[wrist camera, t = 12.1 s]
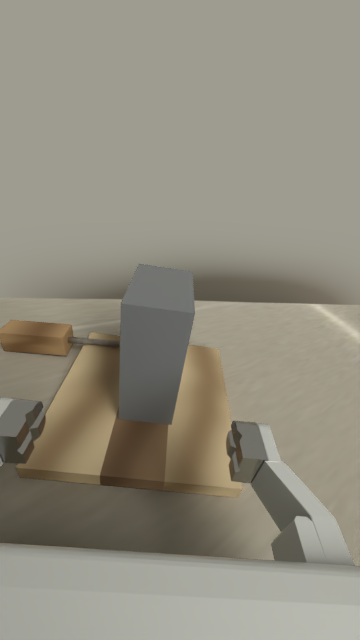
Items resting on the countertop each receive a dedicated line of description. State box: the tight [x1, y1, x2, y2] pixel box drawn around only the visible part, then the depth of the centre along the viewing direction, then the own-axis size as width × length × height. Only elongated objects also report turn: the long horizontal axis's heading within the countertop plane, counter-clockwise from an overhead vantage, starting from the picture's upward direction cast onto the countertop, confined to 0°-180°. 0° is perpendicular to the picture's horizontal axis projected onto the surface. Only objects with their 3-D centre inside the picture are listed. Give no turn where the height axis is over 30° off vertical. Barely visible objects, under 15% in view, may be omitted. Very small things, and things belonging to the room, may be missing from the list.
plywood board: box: [16, 332, 243, 498], centre depth 22 cm, size 14×14×1 cm
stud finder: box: [119, 264, 195, 425], centre depth 19 cm, size 4×6×10 cm
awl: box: [0, 320, 120, 356], centre depth 25 cm, size 11×2×2 cm, turn 89°
